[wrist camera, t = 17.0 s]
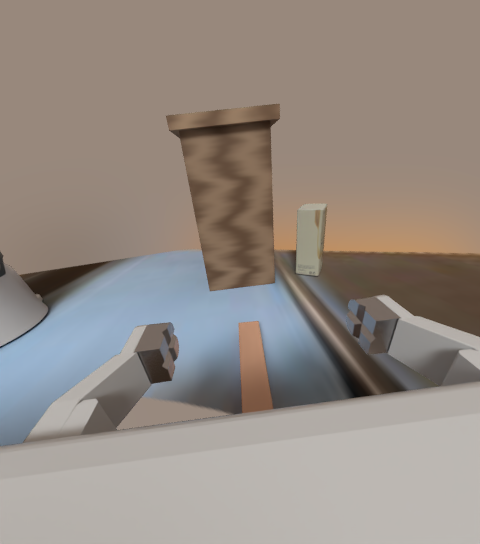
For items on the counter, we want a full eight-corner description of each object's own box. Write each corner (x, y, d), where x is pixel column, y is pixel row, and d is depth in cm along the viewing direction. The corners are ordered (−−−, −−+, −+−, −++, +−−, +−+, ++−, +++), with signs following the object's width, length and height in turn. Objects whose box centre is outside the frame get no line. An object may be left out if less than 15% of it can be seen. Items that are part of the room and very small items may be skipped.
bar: (258, 718, 8) (254, 724, 7) (240, 337, 27) (238, 323, 26) (321, 715, 8) (326, 719, 7) (259, 335, 27) (258, 321, 26)
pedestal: (203, 294, 37) (166, 115, 25) (208, 266, 47) (183, 131, 36) (281, 285, 37) (279, 103, 25) (268, 259, 48) (262, 123, 36)
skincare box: (318, 277, 38) (324, 209, 33) (295, 274, 40) (296, 210, 35) (322, 263, 43) (328, 202, 38) (301, 261, 45) (303, 203, 40)
